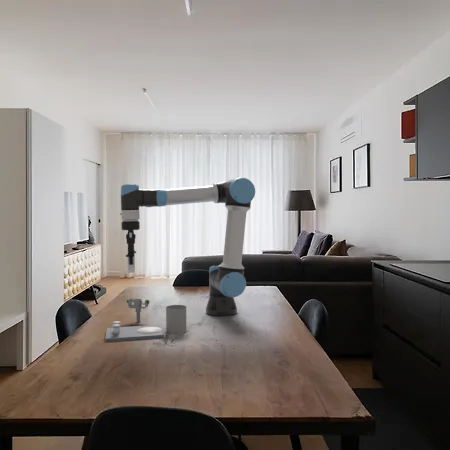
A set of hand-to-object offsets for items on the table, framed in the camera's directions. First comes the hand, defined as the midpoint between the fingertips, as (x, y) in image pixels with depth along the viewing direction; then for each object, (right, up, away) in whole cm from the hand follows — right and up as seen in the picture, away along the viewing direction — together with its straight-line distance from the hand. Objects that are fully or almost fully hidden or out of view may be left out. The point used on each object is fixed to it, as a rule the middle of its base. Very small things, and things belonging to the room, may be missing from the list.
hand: (131, 270), depth 188 cm
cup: (+20, -25, -6) cm, 32 cm away
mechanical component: (+1, -24, +10) cm, 26 cm away
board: (+3, -25, -11) cm, 27 cm away
